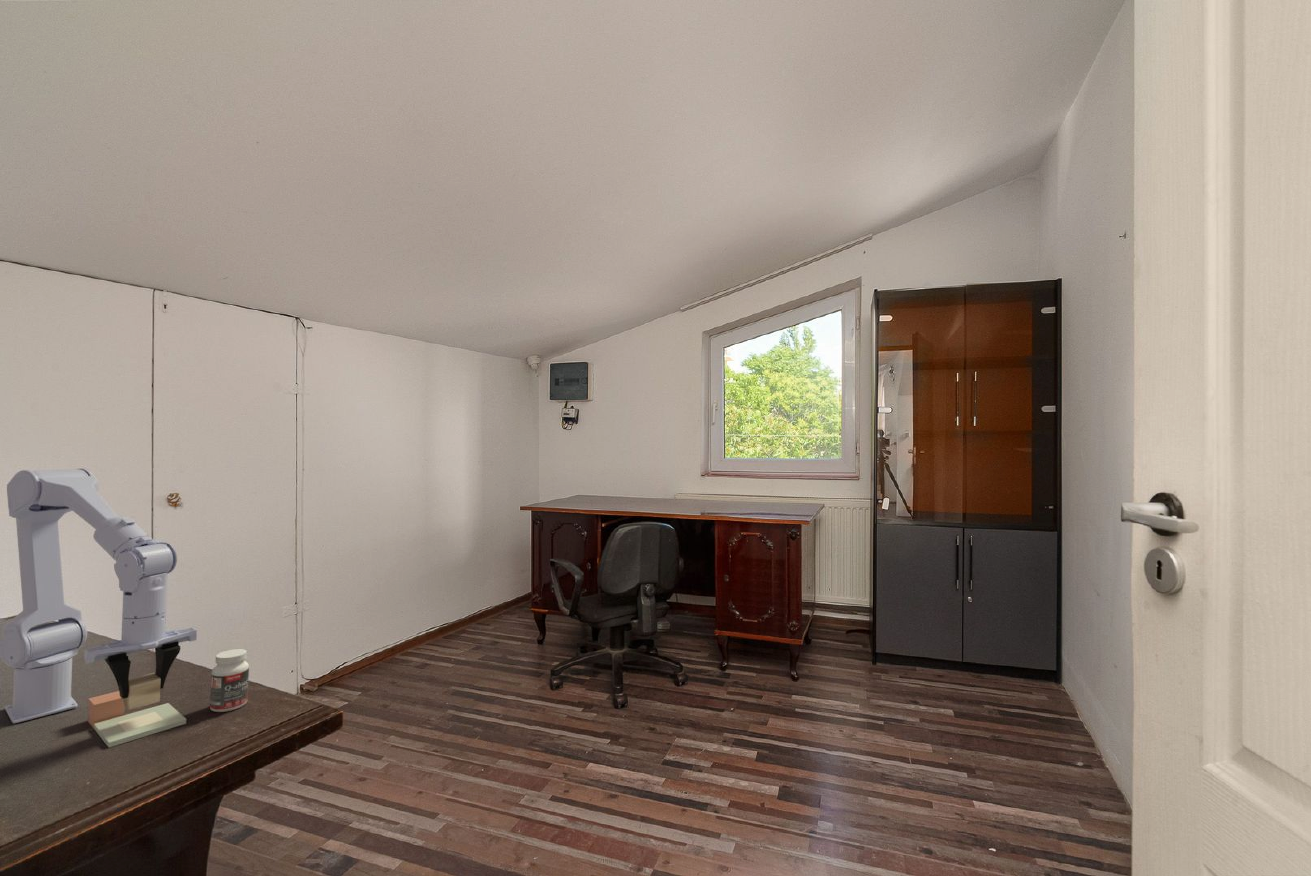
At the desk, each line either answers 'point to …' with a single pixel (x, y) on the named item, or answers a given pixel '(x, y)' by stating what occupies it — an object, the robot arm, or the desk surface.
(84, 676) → the desk surface
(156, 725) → the board
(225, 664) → the pill bottle
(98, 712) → the terracotta cube
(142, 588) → the robot arm
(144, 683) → the beech cube
